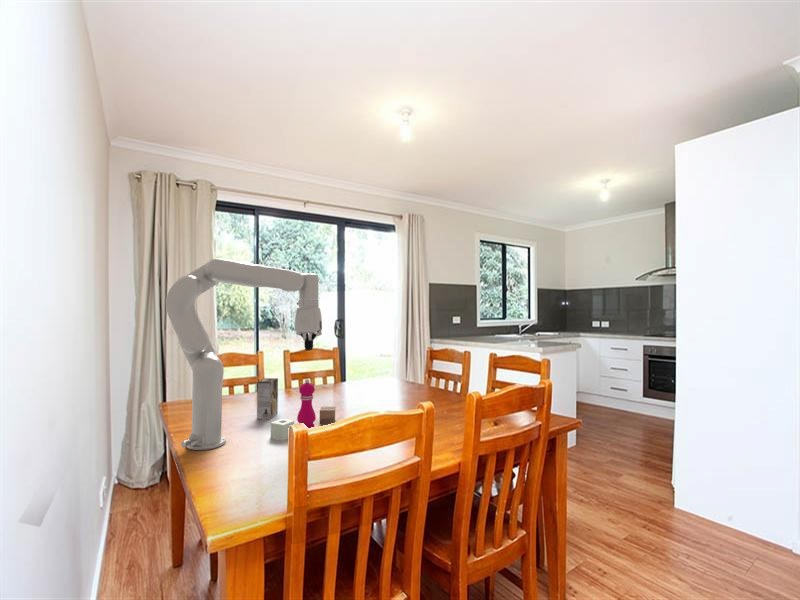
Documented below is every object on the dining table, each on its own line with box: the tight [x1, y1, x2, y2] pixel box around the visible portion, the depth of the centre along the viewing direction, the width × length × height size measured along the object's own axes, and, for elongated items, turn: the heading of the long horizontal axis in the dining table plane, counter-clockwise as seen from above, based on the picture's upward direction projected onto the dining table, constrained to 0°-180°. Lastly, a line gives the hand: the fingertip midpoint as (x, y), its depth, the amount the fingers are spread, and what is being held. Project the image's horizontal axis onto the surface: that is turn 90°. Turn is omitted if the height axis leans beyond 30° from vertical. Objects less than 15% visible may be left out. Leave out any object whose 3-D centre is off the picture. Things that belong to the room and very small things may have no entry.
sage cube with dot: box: [270, 418, 295, 441], centre depth 150 cm, size 6×6×6 cm
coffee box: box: [256, 377, 279, 420], centre depth 177 cm, size 9×6×16 cm
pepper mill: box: [296, 378, 317, 428], centre depth 160 cm, size 7×7×20 cm
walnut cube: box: [318, 406, 336, 426], centre depth 169 cm, size 6×6×6 cm
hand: (308, 349), depth 160 cm, fingers closed
